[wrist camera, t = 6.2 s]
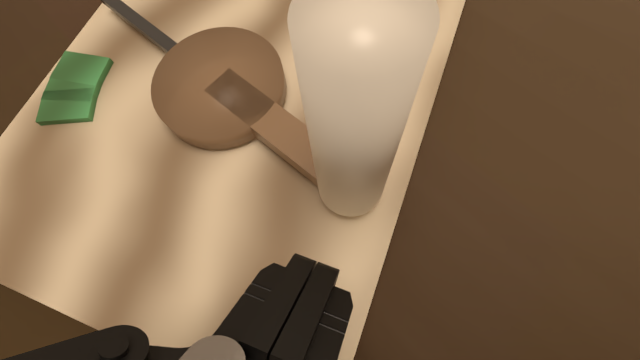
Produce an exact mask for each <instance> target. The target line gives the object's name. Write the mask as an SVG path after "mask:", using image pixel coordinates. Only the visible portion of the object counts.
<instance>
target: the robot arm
mask: <svg viewBox="0 0 640 360" xmlns="http://www.w3.org/2000/svg"><path fill="white" fill-rule="evenodd" d="M339 271H340V270H339V269H336V268H334V267H331V266H329V265H326V264H323V263H321V262H318V263H317V261H315V260H312V259H310V258H307V257H304V256H302V255H299V254H297V253H295V254H294V255H293V256H292V258H291V259H290V261H289V263H288V264H287V266H286V267H284V266H281V265H279V264H276V263H272V264H270V265H269V266H267V267H265V268H263V269H262V270H260V271H259V273H258V274H257V276H256V277H255V278H254V280H253V281H252V283H251V284H250V285H249V286H248V288H247V289H246V291H245V293H244V294H243V295H242V296H241V297H240V299H239V300H238V301H237V303H236V304H235V306H234V307H233V308H232V310H231V311H230V312H229V314H228V315H227V316H226V318H225V319H224V320H223V322H222V323H221V325H220V326H219V327H218V329H217V330H216V331H215V332H214V334H213V335H212V336H208V337H205V338H202V339H200V340H198V341H197V342H195V343H194V344H193V345H192V346H190V347H185V348H173V347H162V346H152V345H149V339H148V337H147V335H146V333H145V332H144V331H142V330H141V329H139V328H138V327H135V326H130V325H117V326H112V327H109V328H105V329H102V330H99V331H95V332H92V333H89V334H85V335H82V336H79V337H75V338H72V339H69V340H65V341H62V342H59V343H55V344H52V345H49V346H46V347H42V348H39V349H36V350H32V351H29V352H26V353H22V354H19V355H16V356H12V357H9V358H6V359H2V360H338V356H339V353H340V350H341V346H342V343H343V340H344V336H345V333H346V329H347V326H348V323H349V319H350V316H351V313H352V309H353V303H352V298H351V293H350V292H349V291H346V290H343V289H341V288H338V287H336V286H335V285H336V281H337V278H338V275H339Z"/></svg>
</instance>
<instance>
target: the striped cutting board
mask: <svg viewBox="0 0 640 360" xmlns="http://www.w3.org/2000/svg"><path fill="white" fill-rule="evenodd" d="M121 1H122V2H124V3H125V4H126V5H128V6H129V7H130V8H132V9H133V10H134V11H135V12H137V13H138V14H139V15H141V16H142V17H143V18H145V19H146V20H147V21H149V22H150V23H151V24H153V25H154V26H155V27H157V28H158V29H159V30H161V31H162V32H163V33H164V34H166V35H167V36H168V37H170V38H171V39H172V40H174V41H175V42H176V43H179V42H180V41H181V40H183V39H185V38H186V37H188V36H190V35H192V34H195V33H197V32H200V31H203V30H206V29H210V28H217V27H237V28H243V29H246V30H250V31H252V32H254V33H257V34H258V35H260V36H262V37H263V38H265V39H266V40H267V41H268V42H269V43H270V44H271V45H272V46H273V47H274V48H275V50H276V51H277V53H278V55H279V57H280V59H281V63H282V66H283V71H284V75H285V79H286V86H287V87H286V98H285V102H284V105H283V108H284V109H285V110H286V111H288V112H289V113H290V114H292V115H293V116H294V117H296V118H297V119H299V120H300V121H301V122H303V123H304V124H305V125H306V120H305V115H304V110H303V104H302V99H301V94H300V89H299V83H298V78H297V73H296V67H295V62H294V57H293V51H292V46H291V41H290V36H289V30H288V23H287V17H288V10H289V6H290V3H291V1H292V0H121ZM436 1H437V4H438V7H439V13H440V23H439V29H438V32H437V35H436V38H435V41H434V44H433V47H432V50H431V53H430V55H429V58H428V61H427V64H426V67H425V70H424V73H423V76H422V79H421V82H420V85H419V88H418V91H417V93H416V96H415V99H414V102H413V105H412V108H411V111H410V114H409V117H408V120H407V123H406V126H405V129H404V131H403V134H402V137H401V140H400V143H399V146H398V149H397V152H396V155H395V158H394V161H393V164H392V167H391V169H390V172H389V175H388V178H387V181H386V184H385V187H384V190H383V193H382V196H381V198H380V200H379V202H378V203H377V205H376V206H375V207H374V208H373V209H372V210H371V211H369V212H367V213H365V214H363V215H360V216H355V217H348V216H342V215H339V214H337V213H335V212H333V211H331V210H330V209H329V208H328V207H327V206H326V205H325V204H324V202H323V201H322V199H321V197H320V194H319V189H318V186H317V185H315V184H314V183H313V182H312V181H310V180H309V179H308V178H307V177H305V176H304V175H303V174H302V173H300V172H299V171H298V170H297V169H295V168H294V167H293V166H291V165H290V164H289V163H288V162H286V161H285V160H284V159H283V158H281V157H280V156H279V155H278V154H276V153H275V152H274V151H273V150H271V149H270V148H269V147H268V146H266V145H265V144H264V143H263V142H261V141H260V140H259V139H258V138H255V139H253V140H251V141H249V142H247V143H244V144H242V145H239V146H236V147H232V148H226V149H204V148H200V147H196V146H193V145H191V144H188V143H186V142H185V141H183V140H181V139H180V138H179V137H177V136H176V135H175V134H174V133H173V132H172V131H171V130H170V129H169V127H168V126H167V125H166V124H165V123H164V122H163V121H162V120H161V119H160V117H159V116H158V115H157V113H156V111H155V109H154V107H153V103H152V100H151V83H152V78H153V75H154V72H155V70H156V68H157V66H158V64H159V63H160V61H161V60H162V58H163V57H164V56H165V55H166V52H165V51H163V50H162V49H161V48H160V47H158V46H157V45H156V44H154V43H153V42H152V41H151V40H149V39H148V38H147V37H145V36H144V35H143V34H142V33H140V32H139V31H138V30H136V29H135V28H134V27H133V26H131V25H130V24H129V23H128V22H126V21H125V20H124V19H122V18H121V17H120V16H119V15H117V14H116V13H115V12H113V11H112V10H111V9H110V8H108V7H107V6H106V5H105V4H103V3H102V4H101V5H100V7H99V8H98V9H97V11H96V12H95V13H94V15H93V16H92V17H91V18H90V20H89V21H88V22H87V24H86V25H85V26H84V28H83V29H82V30H81V32H80V33H79V34H78V36H77V37H76V38H75V39H74V41H73V42H72V43H71V45H70V46H69V47H68V49H67V50H66V51H65V52H64V54H63V55H62V57H61V58H60V59H59V61H58V62H57V63H56V64H55V66H54V67H53V68H52V70H51V71H50V72H49V74H48V75H47V76H46V78H45V79H44V80H43V82H42V83H41V84H40V86H39V87H38V88H37V89H36V91H35V92H34V93H33V95H32V96H31V97H30V99H29V100H28V101H27V103H26V104H25V105H24V107H23V108H22V109H21V110H20V112H19V113H18V114H17V116H16V117H15V118H14V120H13V121H12V122H11V124H10V125H9V126H8V128H7V129H6V130H5V132H4V133H3V134H2V135H1V137H0V284H2V285H4V286H6V287H9V288H11V289H13V290H15V291H17V292H19V293H21V294H23V295H25V296H27V297H30V298H32V299H34V300H36V301H38V302H40V303H42V304H44V305H46V306H49V307H51V308H53V309H55V310H57V311H59V312H61V313H63V314H65V315H68V316H70V317H72V318H74V319H76V320H78V321H80V322H82V323H84V324H86V325H89V326H91V327H93V328H95V329H97V330H102V329H105V328H109V327H112V326H117V325H130V326H135V327H138V328H139V329H141V330H142V331H144V332H145V333H146V335H147V337H148V339H149V345H152V346H162V347H173V348H185V347H190V346H192V345H193V344H194V343H195V342H197V341H198V340H200V339H202V338H205V337H208V336H212V335H213V334H214V332H215V331H216V330H217V329H218V327H219V326H220V325H221V323H222V322H223V320H224V319H225V318H226V316H227V315H228V314H229V312H230V311H231V310H232V308H233V307H234V306H235V304H236V303H237V301H238V300H239V299H240V297H241V296H242V295H243V294H244V293H245V291H246V289H247V288H248V286H249V285H250V284H251V283H252V281H253V280H254V278H255V277H256V276H257V274H258V273H259V271H260V270H262V269H263V268H265V267H267V266H269V265H270V264H272V263H276V264H279V265H281V266H284V267H286V266H287V264H288V263H289V261H290V259H291V258H292V256H293V255H294V254H295V253H297V254H299V255H302V256H304V257H307V258H310V259H312V260H315V261H317V263H318V262H321V263H323V264H326V265H329V266H331V267H334V268H336V269H339V270H340V271H339V275H338V278H337V281H336V285H335V286H336V287H338V288H341V289H343V290H346V291H349V292H350V293H351V298H352V303H353V309H352V313H351V316H350V319H349V323H348V326H347V329H346V333H345V336H344V340H343V343H342V346H341V350H340V353H339V356H338V360H353V359H354V356H355V353H356V349H357V346H358V343H359V340H360V337H361V333H362V330H363V327H364V324H365V321H366V317H367V314H368V311H369V308H370V305H371V301H372V298H373V295H374V292H375V289H376V285H377V282H378V279H379V276H380V273H381V269H382V266H383V263H384V260H385V257H386V253H387V250H388V247H389V244H390V241H391V237H392V234H393V231H394V228H395V224H396V221H397V218H398V215H399V212H400V208H401V205H402V202H403V199H404V196H405V192H406V189H407V186H408V183H409V180H410V176H411V173H412V170H413V167H414V164H415V160H416V157H417V154H418V151H419V148H420V144H421V141H422V138H423V135H424V132H425V128H426V125H427V122H428V119H429V116H430V112H431V109H432V106H433V103H434V100H435V96H436V93H437V90H438V87H439V83H440V80H441V77H442V74H443V71H444V67H445V64H446V61H447V58H448V55H449V51H450V48H451V45H452V42H453V39H454V35H455V32H456V29H457V26H458V23H459V19H460V16H461V13H462V10H463V7H464V3H465V0H436Z"/></svg>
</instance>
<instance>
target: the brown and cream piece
mask: <svg viewBox="0 0 640 360" xmlns="http://www.w3.org/2000/svg"><path fill="white" fill-rule="evenodd" d="M101 1H102V2H103V4H105V5H106V6H107V7H108V8H110V9H111V10H112V11H113V12H115V13H116V14H117V15H119V16H120V17H121V18H122V19H124V20H125V21H126V22H128V23H129V24H130V25H131V26H133V27H134V28H135V29H136V30H138V31H139V32H140V33H142V34H143V35H144V36H145V37H147V38H148V39H149V40H151V41H152V42H153V43H154V44H156V45H157V46H158V47H160V48H161V49H162V50H163V51H165V52H166V55H165V56H164V57H163V58H162V60H161V61H160V63H159V64H158V66H157V68H156V70H155V72H154V75H153V78H152V83H151V100H152V103H153V107H154V109H155V111H156V113H157V115H158V116H159V117H160V119H161V120H162V121H163V122H164V123H165V124H166V125H167V126H168V127H169V129H170V130H171V131H172V132H173V133H174V134H175V135H176V136H177V137H179V138H180V139H181V140H183V141H185V142H186V143H188V144H191V145H193V146H196V147H200V148H204V149H226V148H232V147H236V146H239V145H242V144H244V143H247V142H249V141H251V140H253V139H255V138H258V139H259V140H260V141H261V142H263V143H264V144H265V145H266V146H268V147H269V148H270V149H271V150H273V151H274V152H275V153H276V154H278V155H279V156H280V157H281V158H283V159H284V160H285V161H286V162H288V163H289V164H290V165H291V166H293V167H294V168H295V169H297V170H298V171H299V172H300V173H302V174H303V175H304V176H305V177H307V178H308V179H309V180H310V181H312V182H313V183H314V184H315V185H317V186H318V189H319V194H320V197H321V199H322V201H323V202H324V204H325V205H326V206H327V207H328V208H329V209H330V210H331V211H333V212H335V213H337V214H339V215H342V216H348V217H355V216H360V215H363V214H365V213H367V212H369V211H371V210H372V209H373V208H374V207H375V206H376V205H377V203H378V202H379V200H380V198H381V196H382V193H383V190H384V187H385V184H386V181H387V178H388V175H389V172H390V169H391V167H392V164H393V161H394V158H395V155H396V152H397V149H398V146H399V143H400V140H401V137H402V134H403V131H404V129H405V126H406V123H407V120H408V117H409V114H410V111H411V108H412V105H413V102H414V99H415V96H416V93H417V91H418V88H419V85H420V82H421V79H422V76H423V73H424V70H425V67H426V64H427V61H428V58H429V55H430V53H431V50H432V47H433V44H434V41H435V38H436V35H437V32H438V29H439V23H440V13H439V7H438V4H437V1H436V0H292V1H291V3H290V6H289V10H288V17H287V23H288V30H289V36H290V41H291V46H292V51H293V57H294V62H295V67H296V73H297V78H298V83H299V89H300V94H301V99H302V104H303V110H304V115H305V120H306V125H305V124H304V123H303V122H301V121H300V120H299V119H297V118H296V117H294V116H293V115H292V114H290V113H289V112H288V111H286V110H285V109H284V108H283V105H284V102H285V98H286V87H287V86H286V79H285V75H284V71H283V66H282V63H281V59H280V57H279V55H278V53H277V51H276V50H275V48H274V47H273V46H272V45H271V44H270V43H269V42H268V41H267V40H266V39H265V38H263V37H262V36H260V35H258V34H257V33H254V32H252V31H250V30H246V29H243V28H237V27H217V28H210V29H206V30H203V31H200V32H197V33H195V34H192V35H190V36H188V37H186V38H185V39H183V40H181V41H180V42H179V43H176V42H175V41H174V40H172V39H171V38H170V37H168V36H167V35H166V34H164V33H163V32H162V31H161V30H159V29H158V28H157V27H155V26H154V25H153V24H151V23H150V22H149V21H147V20H146V19H145V18H143V17H142V16H141V15H139V14H138V13H137V12H135V11H134V10H133V9H132V8H130V7H129V6H128V5H126V4H125V3H124V2H122V1H121V0H101Z"/></svg>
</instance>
